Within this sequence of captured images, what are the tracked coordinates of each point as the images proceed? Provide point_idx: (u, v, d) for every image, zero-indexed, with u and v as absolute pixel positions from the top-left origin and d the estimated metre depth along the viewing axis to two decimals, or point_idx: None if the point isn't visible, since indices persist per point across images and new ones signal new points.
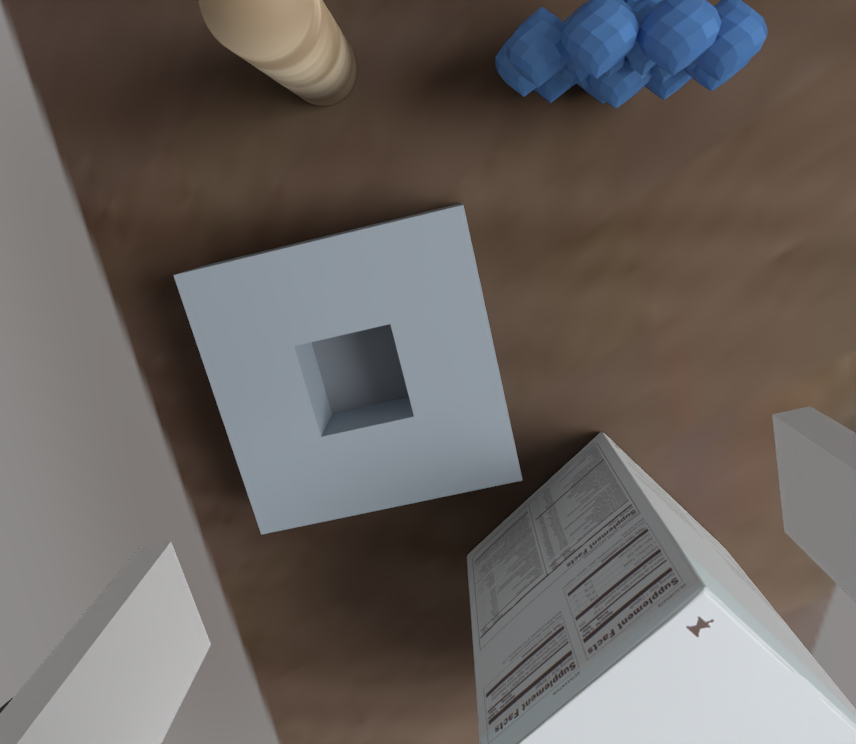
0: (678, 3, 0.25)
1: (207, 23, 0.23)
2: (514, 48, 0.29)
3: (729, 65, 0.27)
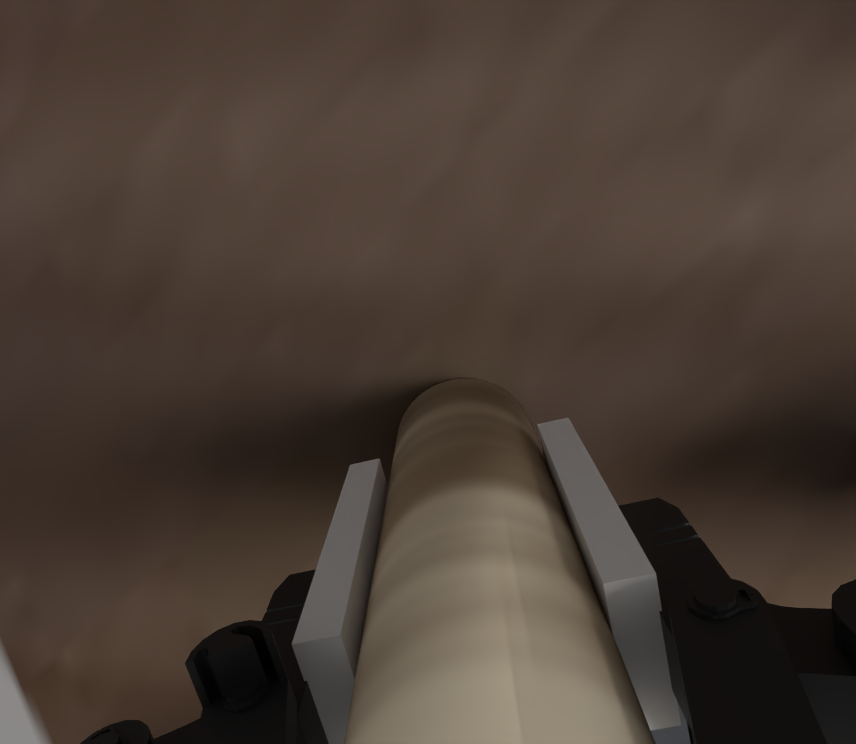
0: None
1: None
2: None
3: None
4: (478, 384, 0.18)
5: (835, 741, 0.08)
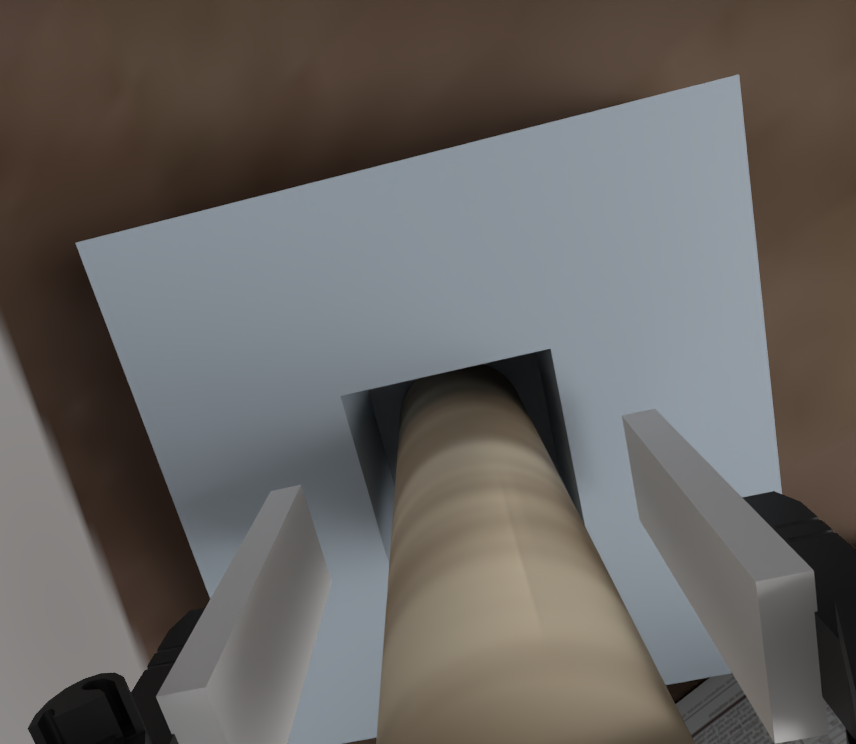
0: None
1: None
2: None
3: None
4: None
5: None
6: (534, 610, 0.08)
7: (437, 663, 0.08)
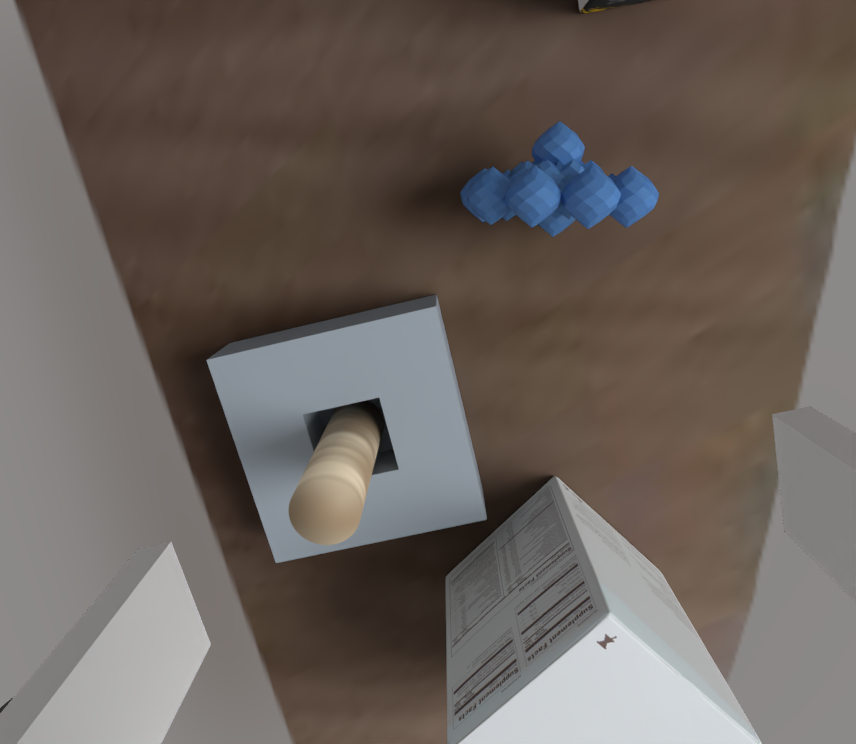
0: (588, 182, 0.34)
1: (294, 526, 0.36)
2: (471, 198, 0.38)
3: (631, 219, 0.36)
4: None
5: None
6: (327, 470, 0.36)
7: (304, 479, 0.36)
